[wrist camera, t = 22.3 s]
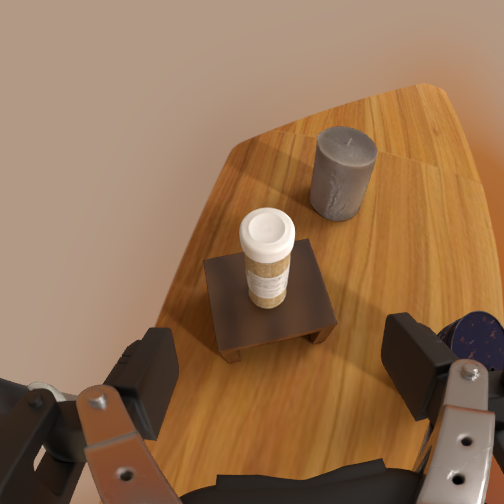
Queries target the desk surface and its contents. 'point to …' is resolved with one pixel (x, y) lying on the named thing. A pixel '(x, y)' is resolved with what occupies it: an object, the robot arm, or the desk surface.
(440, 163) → the desk surface
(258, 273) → the sprinkles bottle
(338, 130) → the pillar candle
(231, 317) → the shelf
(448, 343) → the navy ridged cylinder
